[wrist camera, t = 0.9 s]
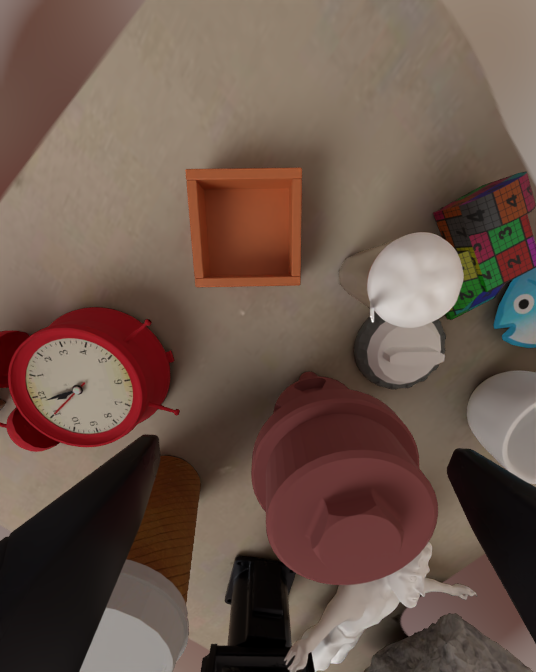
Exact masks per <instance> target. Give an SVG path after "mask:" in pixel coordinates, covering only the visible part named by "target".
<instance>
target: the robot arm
mask: <svg viewBox="0 0 536 672" xmlns="http://www.w3.org/2000/svg"><path fill="white" fill-rule="evenodd" d="M159 464H160V447H159V438H158V436H157V435H142V436H140V437H139V438H138V439H136V440H135V441H134V442H132V443H131V444H130V445H128V446H127V447H126V448H124V449H123V450H122V451H120V452H119V453H118V454H116V455H115V456H114V457H112V458H111V459H110V460H108V461H107V462H106V463H104V464H103V465H102V466H100V467H99V468H98V469H96V470H95V471H94V472H92V473H91V474H90V475H88V476H87V477H85V478H84V479H83V480H81V481H80V482H79V483H77V484H76V485H75V486H73V487H72V488H71V489H69V490H68V491H67V492H65V493H64V494H63V495H61V496H60V497H59V498H57V499H56V500H55V501H53V502H52V503H51V504H49V505H48V506H47V507H45V508H44V509H43V510H41V511H40V512H39V513H37V514H36V515H35V516H33V517H32V518H31V519H29V520H28V521H27V522H25V523H24V524H22V525H21V526H20V527H18V528H17V529H16V530H14V531H13V532H12V533H11V534H10V536H9V537H5V538H4V539H2V540H1V541H0V672H79V671H80V669H81V667H82V664H83V662H84V659H85V657H86V655H87V652H88V650H89V647H90V645H91V643H92V640H93V638H94V635H95V633H96V631H97V628H98V626H99V623H100V621H101V619H102V616H103V614H104V611H105V609H106V607H107V604H108V602H109V599H110V597H111V595H112V592H113V590H114V587H115V585H116V583H117V580H118V578H119V575H120V573H121V570H122V568H123V566H124V563H125V561H126V558H127V556H128V554H129V551H130V549H131V546H132V544H133V542H134V539H135V537H136V534H137V532H138V530H139V527H140V525H141V522H142V519H143V516H144V513H145V510H146V507H147V504H148V501H149V497H150V494H151V491H152V487H153V484H154V481H155V478H156V474H157V471H158V468H159ZM447 474H448V478H449V480H450V482H451V484H452V486H453V489H454V491H455V493H456V495H457V497H458V500H459V502H460V504H461V506H462V508H463V511H464V513H465V515H466V517H467V519H468V521H469V524H470V526H471V528H472V530H473V532H474V534H475V535H476V537H477V539H478V541H479V543H480V545H481V546H482V548H483V550H484V552H485V554H486V555H487V557H488V559H489V561H490V563H491V564H492V566H493V568H494V570H495V571H496V573H497V575H498V577H499V579H500V580H501V582H502V584H503V586H504V588H505V589H506V591H507V593H508V595H509V597H510V598H511V600H512V602H513V604H514V605H515V607H516V609H517V611H518V613H519V615H520V616H521V618H522V620H523V622H524V623H525V625H526V627H527V629H528V631H529V632H530V634H531V636H532V638H533V639H534V641H535V643H536V487H534V486H533V485H531V484H529V483H527V482H526V481H524V480H522V479H521V478H519V477H517V476H516V475H514V474H512V473H511V472H509V471H507V470H506V469H504V468H502V467H501V466H499V465H497V464H496V463H494V462H492V461H491V460H489V459H487V458H485V457H484V456H482V455H480V454H479V453H477V452H475V451H474V450H471V449H462V448H458V449H456V450H455V451H454V452H453V455H452V457H451V460H450V462H449V464H448V467H447ZM295 574H296V573H295V572H294V571H292V570H291V569H289V568H288V567H287V566H286V565H285V564H284V563H283V562H278V561H272V560H265V559H258V558H252V557H245V556H237V557H236V558H235V561H234V565H233V569H232V573H231V577H230V580H229V584H228V588H227V592H226V596H225V602H226V603H227V604H231V614H230V625H229V636H228V646H217V644H211V648H210V653H209V655H207V656H206V657H204V658H203V661H202V667H201V672H290V670H288V667H289V666H290V665H291V664H292V663H293V660H294V658H295V655H294V656H293V657H292V658H291V659H290V661H289V662H288V664H287V665H286V661H287V660H286V661H284V659H285V657H286V656H287V654H288V652H289V650H290V648H291V647H292V645H291V631H290V618H289V604H288V595H289V592H290V589H291V586H292V583H293V580H294V577H295ZM296 672H315V669H314V663H313V658H312V652H310V653H309V654H308V660H307V664H306V666H305V667H304V669H300V670H297V671H296Z"/></svg>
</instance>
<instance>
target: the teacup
mask: <svg viewBox="0 0 536 672" xmlns="http://www.w3.org/2000/svg"><path fill="white" fill-rule="evenodd" d="M467 419H468V423H469V426H470V428H471V430H472V432H473V434H474V435H475V437H476V438H477V439H478V441H479V442H480V443H481V445H482V446H483V447H484V448H485V449H486V450H487V451H488V452H489V453H490V454H491V455H492V456H493V457H494V458H495V459H496V460H497V461H498V462H499V463H500V464H501V465H502V466H503V467H504V468H505V469H506V470H507V471H509V472H511V473H512V474H514V475H516V476H517V477H519V478H521V479H522V480H524V481H526V482H527V483H531V484H536V372H530V371H521V370H517V371H508V372H503V373H499V374H497V375H494V376H492V377H490V378H488V379H486V380H485V381H483V382H482V383H481V384H480V385H479V386H478V387H477V388H476V389H475V390H474V392H473V393H472V395H471V397H470V399H469V401H468V405H467Z"/></svg>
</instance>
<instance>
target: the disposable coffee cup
mask: <svg viewBox="0 0 536 672" xmlns="http://www.w3.org/2000/svg"><path fill="white" fill-rule="evenodd" d="M200 487H201V483H200V478H199V476H198V474H197V472H196V471H195V469H194V468H193V467H192V466H191V465H190V464H189V463H187V462H185V461H184V460H182V459H180V458H176V457H172V456H160V464H159V468H158V471H157V474H156V478H155V481H154V484H153V487H152V491H151V494H150V497H149V501H148V504H147V507H146V510H145V513H144V516H143V519H142V522H141V525H140V527H139V530H138V532H137V534H136V537H135V539H134V542H133V544H132V546H131V549H130V551H129V554H128V556H127V558H126V561H125V563H124V566H123V568H122V570H121V573H120V575H119V578H118V580H117V583H116V585H115V587H114V590H113V592H112V595H111V597H110V599H109V602H108V604H107V607H106V609H105V611H104V614H103V616H102V619H101V621H100V623H99V626H98V628H97V631H96V633H95V635H94V638H93V640H92V643H91V645H90V647H89V650H88V652H87V655H86V657H85V659H84V662H83V664H82V667H81V669H80V671H79V672H173V669H174V667H175V664H176V661H177V660H178V659H179V658H180V656H181V655H182V653H183V652H184V650H185V647H186V645H187V641H188V635H189V624H188V618H187V615H188V613H187V608H186V602H187V591H188V585H189V579H190V569H191V560H192V551H193V544H194V536H195V528H196V519H197V508H198V502H199V494H200Z"/></svg>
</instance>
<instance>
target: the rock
mask: <svg viewBox="0 0 536 672" xmlns="http://www.w3.org/2000/svg"><path fill="white" fill-rule="evenodd" d="M365 672H533V671H532V670H531V669H530V668H529V667H526V666H525V665H524V664H523V663H522V662H521V661H520V660H518V659H517V658H516V657H514V656H513V655H512V654H511V653H510V652H509V651H508V650H505V649H504V648H503V647H502V646H500V645H499V644H498V643H497V642H495V641H492V640H490V638H488V637H486V636H485V635H483V634H482V633H481V632H480V631H478V630H477V629H476V628H475V627H473V626H472V625H470V624H469V623H467V622H466V621H464V620H463V619H462V617H460V616H459V615H457V614H450V613H449V614H448V615H444V616H442V617H440V619H439V620H438V621H437V623H436V624H434V623H432V624H431V625H430V626H429V628H428V629H423V630H422V631H420V632H418V633H414V635H412V636H410V637H407V638H405V639H403V640H400V641H398V642H395V643H392V644H390V645H388V646H386V647H384V648H383V649H381V650H380V651H378V652H377V653H376V654H375V655H373V657H372V660H371V666H370V667H368V668H367V669H365Z"/></svg>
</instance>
